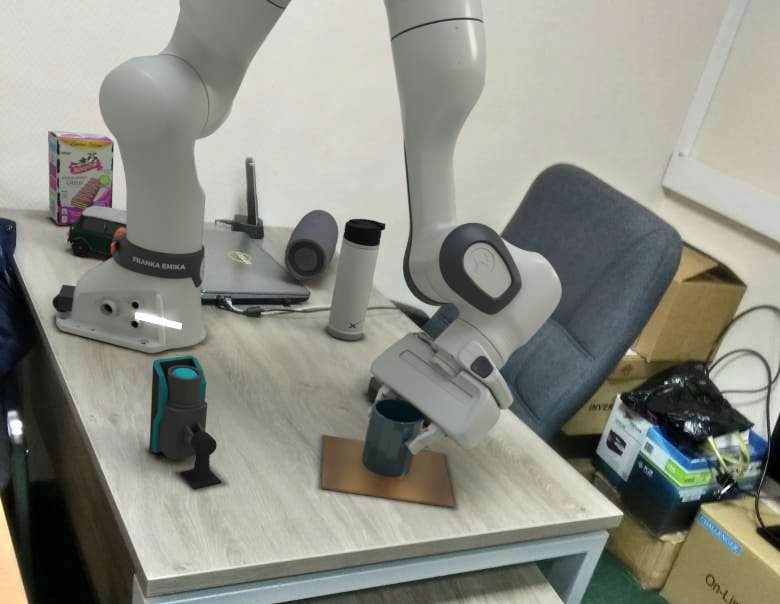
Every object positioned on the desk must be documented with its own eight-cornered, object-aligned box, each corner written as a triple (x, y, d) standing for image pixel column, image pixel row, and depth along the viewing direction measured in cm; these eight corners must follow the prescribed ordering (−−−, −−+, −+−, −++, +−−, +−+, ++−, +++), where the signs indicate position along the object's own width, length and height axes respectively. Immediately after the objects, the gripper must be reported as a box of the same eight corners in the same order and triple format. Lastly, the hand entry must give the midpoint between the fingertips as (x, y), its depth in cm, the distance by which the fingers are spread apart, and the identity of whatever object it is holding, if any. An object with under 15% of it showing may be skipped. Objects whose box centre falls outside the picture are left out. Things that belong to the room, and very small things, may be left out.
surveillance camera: (193, 399, 88) (150, 360, 93) (186, 491, 94) (147, 449, 100) (238, 392, 91) (194, 354, 97) (228, 481, 98) (188, 441, 103)
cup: (361, 472, 105) (373, 419, 101) (360, 446, 111) (372, 394, 106) (412, 480, 106) (426, 427, 102) (409, 454, 112) (422, 402, 107)
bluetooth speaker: (294, 249, 177) (301, 202, 171) (336, 258, 177) (344, 212, 172) (278, 281, 158) (284, 230, 152) (324, 291, 158) (333, 241, 153)
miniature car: (162, 273, 149) (164, 230, 144) (62, 253, 147) (61, 208, 142) (174, 259, 156) (176, 217, 152) (79, 239, 154) (79, 196, 150)
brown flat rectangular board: (321, 488, 101) (322, 486, 100) (323, 437, 111) (324, 435, 111) (452, 507, 103) (453, 505, 103) (442, 456, 114) (443, 453, 114)
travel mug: (358, 344, 140) (381, 229, 129) (322, 334, 141) (342, 218, 130) (366, 332, 146) (389, 221, 134) (332, 323, 146) (351, 210, 135)
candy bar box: (58, 226, 158) (56, 137, 149) (49, 218, 161) (46, 129, 151) (113, 226, 165) (114, 140, 156) (103, 217, 167) (103, 133, 158)
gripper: (406, 312, 109) (335, 384, 109) (507, 380, 97) (427, 462, 97) (424, 340, 114) (356, 409, 114) (522, 408, 102) (446, 486, 102)
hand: (389, 434), depth 105 cm, fingers closed on cup, 7 cm apart
